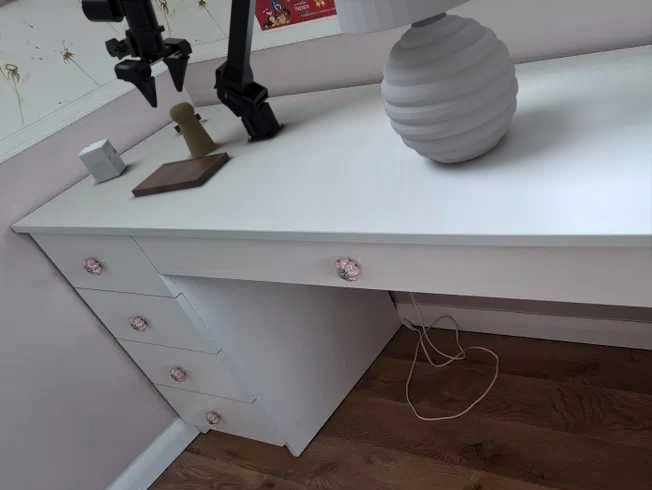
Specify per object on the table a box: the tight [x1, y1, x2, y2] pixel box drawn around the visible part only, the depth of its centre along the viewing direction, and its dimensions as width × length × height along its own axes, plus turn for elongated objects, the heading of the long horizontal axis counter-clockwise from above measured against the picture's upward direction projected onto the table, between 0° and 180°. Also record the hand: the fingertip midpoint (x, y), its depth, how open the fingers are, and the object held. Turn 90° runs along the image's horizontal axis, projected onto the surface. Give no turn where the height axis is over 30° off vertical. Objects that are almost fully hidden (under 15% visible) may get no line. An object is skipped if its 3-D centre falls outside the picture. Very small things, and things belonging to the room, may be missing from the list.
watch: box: [173, 112, 203, 134], centre depth 167 cm, size 8×5×4 cm, turn 143°
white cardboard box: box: [77, 138, 127, 184], centre depth 154 cm, size 6×6×7 cm
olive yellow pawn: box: [169, 101, 218, 158], centre depth 146 cm, size 6×6×11 cm
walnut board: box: [131, 151, 231, 198], centre depth 139 cm, size 18×12×2 cm, turn 74°
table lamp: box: [333, 0, 520, 164], centre depth 95 cm, size 25×25×40 cm
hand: (167, 99), depth 142 cm, fingers open, 9 cm apart
